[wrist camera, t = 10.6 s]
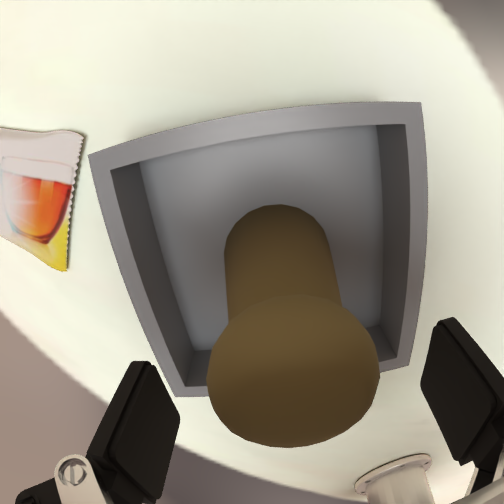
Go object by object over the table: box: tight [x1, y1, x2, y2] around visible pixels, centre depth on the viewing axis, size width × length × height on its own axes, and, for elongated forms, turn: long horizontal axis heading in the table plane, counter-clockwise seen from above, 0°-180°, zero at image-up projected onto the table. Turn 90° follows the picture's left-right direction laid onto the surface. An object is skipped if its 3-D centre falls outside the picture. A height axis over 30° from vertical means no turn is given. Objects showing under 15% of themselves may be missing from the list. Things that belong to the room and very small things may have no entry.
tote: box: [88, 102, 428, 397], centre depth 16 cm, size 15×15×4 cm
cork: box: [206, 204, 380, 448], centre depth 12 cm, size 6×6×11 cm
